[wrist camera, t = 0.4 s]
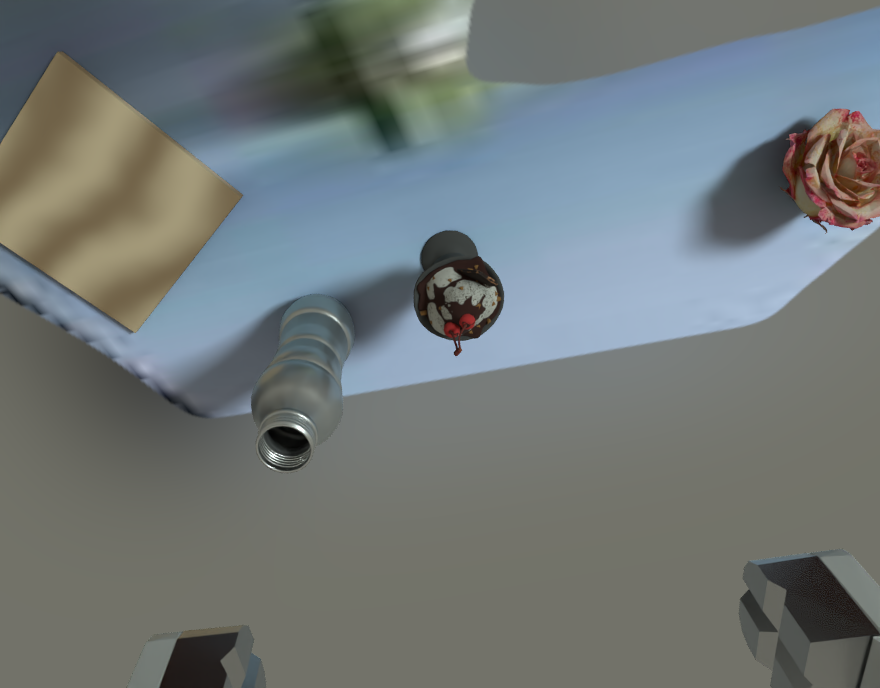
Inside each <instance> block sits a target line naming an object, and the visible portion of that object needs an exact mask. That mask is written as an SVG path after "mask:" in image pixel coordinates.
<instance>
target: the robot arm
mask: <svg viewBox="0 0 880 688" xmlns="http://www.w3.org/2000/svg"><path fill="white" fill-rule="evenodd" d="M743 580H744V582H745V583H746V585H747V587H748V588H749V590H748V591H747V592H746V593H745V594H744V595H743V596H742V597H741V598H740V606H739V618H740V623H741V628H742V632H743V635H744V637H745V640H746V642H747V645H748V647H749V649H750V651H751V652H752V654H753V656H754V658H755V660H757V661H758V662H760V663H761V664H763V665H764V666H766V667H767V668H769V669H770V670H772V677H771V684H770V686H771V688H880V587H879V585H878V584H877V583H876V582H875V581H874V580H873V578H872V577H871V576H870V575H869V574H868V573H867V572H866V571H865V570H864V568H863V567H862V566H861V565H860V564H859V563H858V562H857V560H855V558H854V557H853V556H852V555H851V554H850V553H849V552H847V551H845V550H843V549H837V550H829V551H821V552H813V553H809V554H807V553H804V554H797V555H790V556H782V557H775V558H767V559H760V560H753V561H748V563H747V564H746V565H745V567H744V573H743ZM253 643H254V638H253V636H252V633H251V631H250V628H249V626H247V625H239V626H229V627H219V628H210V629H199V630H189V631H182V632H173V633H163V634H154V635H152V637H151V638H150V639H149V640H148V641H147V642H146V644H145V645H144V648H143V650H142V652H141V654H140V657H139V659H138V662H137V664H136V666H135V669H134V671H133V673H132V676H131V678H130V680H129V683H128V685H127V687H126V688H266V679H265V672H264V668H263V664H262V661H261V659H260V658H258V657H257V656H256V655H254V654H253V653H251V651H252V647H253Z"/></svg>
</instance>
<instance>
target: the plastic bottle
mask: <svg viewBox="0 0 880 688" xmlns="http://www.w3.org/2000/svg"><path fill="white" fill-rule="evenodd" d="M354 340H355V331H354V325H353V321H352V318H351V315H350V314H349V312H348V310H347V309H346V308H345V307H344V305H343V304H341V303H340V302H339V301H338V300H336V299H334V298H332V297H330V296H327V295H322V294H310V295H307V296H304V297H302V298H300V299H298V300H297V301H295V302H294V303H293V304H292V305H291V306H290V307H289V308H288V309H287V310H286V312H285V313H284V315H283V317H282V319H281V323H280V329H279V346H278V351H277V353H276V355H275V357H274V359H273V361H272V362H271V363H270V365H269V366H268V367H267V369H266V370H265V371H264V372H263V374H262V375H261V376H260V378H259V380H258V381H257V383H256V385H255V387H254V389H253V392H252V396H251V409H252V415H253V419H254V422H255V424H256V426H257V428H258V429H259V431H258V437H257V440H256V452H257V455H258V457H259V459H260V460H261V462H262V463H263V464H264V465H265V466H267V467H268V468H270V469H271V470H274V471H277V472H280V473H293V472H297V471H299V470H301V469H303V468H304V467H306V466H307V464H308V463H309V462H310V460H311V459H312V457H313V453H314V450H315V448H316V446H318V445H320V444H322V443H323V442H325V441H326V440H327V439H328V438H329V437H330V436H331V435H332V433H333V432H334V431H335V430H336V428H337V427H338V425H339V423H340V421H341V418H342V413H343V412H342V411H343V396H342V386H341V374H342V368H343V365H344V362H345V361H346V359H347V357H348V356H349V354H350V352H351V350H352V347H353V344H354Z"/></svg>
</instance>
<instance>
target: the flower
mask: <svg viewBox="0 0 880 688" xmlns="http://www.w3.org/2000/svg"><path fill="white" fill-rule="evenodd" d="M833 112H834V113H833ZM849 112H850V110H848V109H832V110H831V111H829V112H828V113H827V114H826V115H825V116H824V117H823V118H822V119H820V120H819V121H818V122H817V123H816V124H815V125H814V126H813V127H812V129H811V130H810V129H809V130H808V131H806V129H805V130H804V131H803V133H800V134H797V133H794V134H789V136H790V137H789V139H787V140H790V146H791V147H790V148H789V150H788V151H787V153H786V155H785V158H784V164H783V167H782V169H783V172H784V174H785V176H786V178H787V180H788V182H789V184H790V186H789V188H788V189H786V190H784V189H782V188H781V187H780V188H781V189H782V190H783V191H785V192H786V193H787V194H788V195H789V196H790V197H791V198H792V199H793V200H794V201H795V202H796V204H797V205H798V207H799V208H800V209H801V210H802V211H803V212H804V213H805V214H807V215H806V216H805V217H807V216H809V218H810V220H812V221H813V222H815V223H817V224H819V225H820V226H821V227H822V228H823V229H824V230H825V231H826V233H827V229H826V228H825V227H824V226H823V225H821V224H820V223H821V221H825V222H828V223H829V225H834V226H839V227H845V228H850V229H851V230H854V229H856V228H859V227H862V226H863V225H868V224H870V223H871V222H873V221H872V220H871V219H870V218H875V217H879V216H880V130H876V129H872V128H871V127H870V126H869V124H868V123H867V122H866V120H865V119H864V117H863V116H862V115H861V113H860V112H859V111H855V112H853V113H851V114H849ZM828 117H829V118H828ZM827 118H828V119H827ZM815 126H816V127H815ZM834 132H835V133H834ZM807 137H808V139H807ZM806 139H807V144H806V146H805V141H806ZM805 217H804V218H805ZM826 233H825V234H826Z"/></svg>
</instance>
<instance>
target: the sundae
mask: <svg viewBox="0 0 880 688" xmlns="http://www.w3.org/2000/svg"><path fill="white" fill-rule="evenodd" d="M422 265H423V268H424V270H425V271H424V272H423V273H422V274H421V276H420V277H419V278H418V280H417V282H416V285H415V289H414V308H415V311H416V314H417V317H418V319H419V321H420V322H421V324H422V325H423V326H424V327H425V328H426V329H427V330H428V331H430V332H431V333H433V334H435V335H437V336H439V337H442V338H445V339H448V340H454V343H455V346H456V350H455V352H454V355H455V356H458V355H459V353H460V352H461V351H462V349H461V346H460V341H466V340H469V339H473V338H478V337H480V335H482V334H483V333H484V332H486V331H487V330H488V329H489V328H490V327H491V326H492V325H493V324H494V323H495V321H496V320H497V318H498V316H499V315H500V313H501V310H502V308H503V303H504V291H503V287H502V284H501V282H500V279H499V277H498V275H497V274H496V273H495V271H494V270H493V269H492V268H491V267H490V266H489V265H488V264H487V263H486V262H484V261H483V260H482V259H481V257H479V256H478V253H477V249H476V246H475V244H474V243H473V241H472V240H471V239H470V238H469V237H468V236H467V235H465V234H463V233H461V232H458V231H443V232H440V233H438V234H435V235H434V236H433V237H431V238H430V239H429V240H428V241H427V242H426V244H425V246H424V248H423V251H422ZM456 341H458V345H459V348H458V347H457V343H456Z"/></svg>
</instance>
